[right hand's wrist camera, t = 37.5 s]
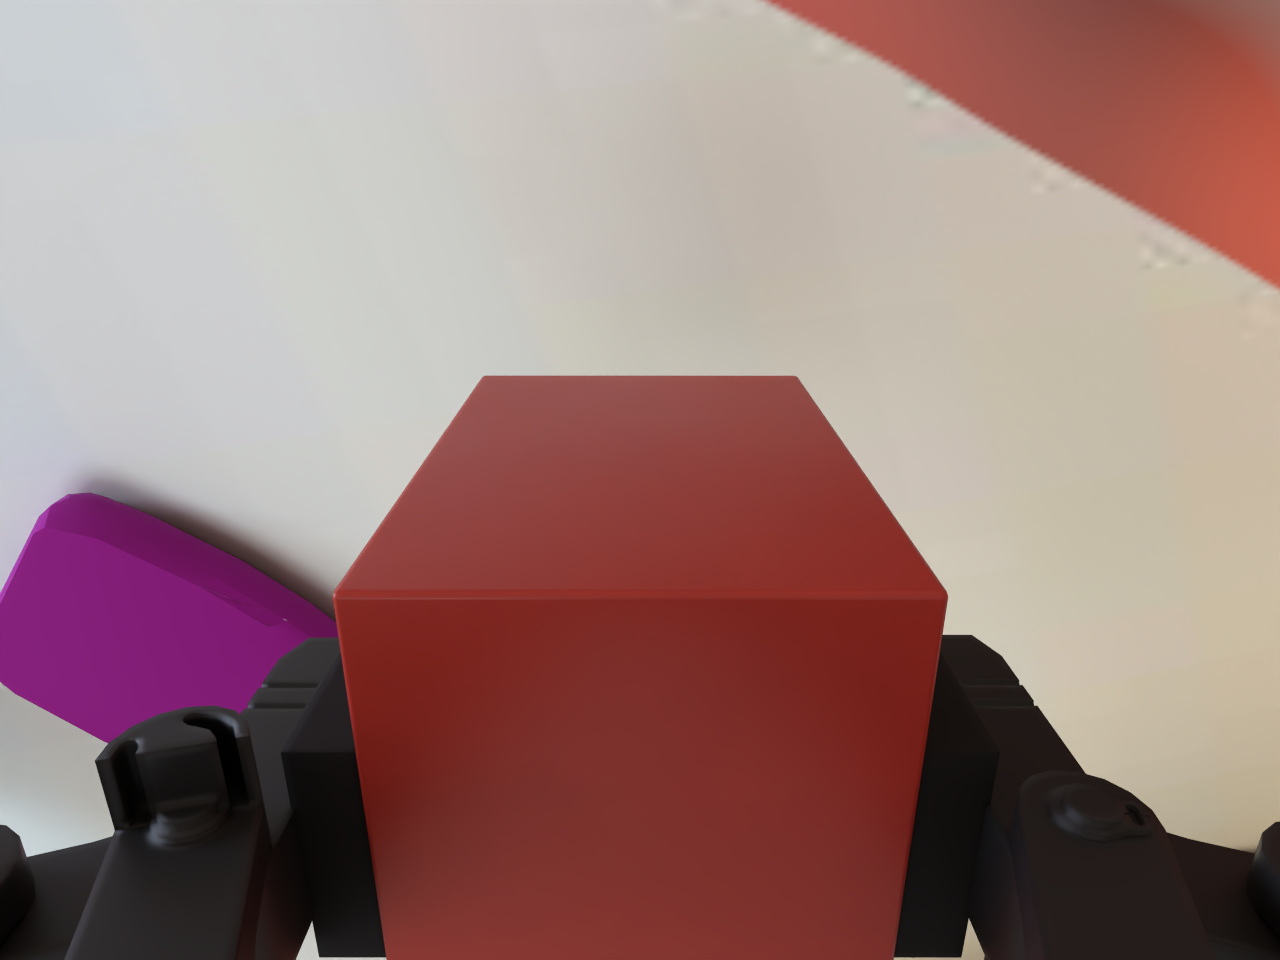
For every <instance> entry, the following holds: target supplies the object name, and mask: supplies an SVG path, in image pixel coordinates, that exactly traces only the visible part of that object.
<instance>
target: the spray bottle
mask: <svg viewBox="0 0 1280 960" xmlns="http://www.w3.org/2000/svg"><path fill="white" fill-rule="evenodd" d="M308 638H339V637H338V630H337V623H336V622H335V621H334V620H332V619H331V618H330V617H328V616H327V615H326V614H325V613H323V612H322V611H321V610H319V609H318V608H317V607H315V606H314V605H313V604H311V603H310V602H308V601H307V600H305V599H304V598H302V597H300V596H299V595H297V594H296V593H294V592H292V591H291V590H289V589H287V588H286V587H284V586H283V585H281V584H279V583H278V582H276V581H275V580H273V579H271V578H270V577H268V576H267V575H265V574H263V573H262V572H260V571H259V570H257V569H255V568H254V567H252V566H251V565H249V564H247V563H246V562H244V561H242V560H240V559H238V558H236V557H234V556H232V555H230V554H228V553H226V552H224V551H222V550H220V549H218V548H216V547H214V546H212V545H210V544H208V543H206V542H204V541H202V540H200V539H198V538H196V537H194V536H192V535H190V534H188V533H186V532H183V531H181V530H179V529H177V528H175V527H173V526H171V525H169V524H167V523H165V522H163V521H161V520H159V519H157V518H155V517H153V516H151V515H149V514H146V513H144V512H141V511H139V510H137V509H134V508H132V507H129V506H127V505H124V504H122V503H119V502H117V501H114V500H112V499H109V498H107V497H104V496H100V495H96V494H92V493H80V494H68V495H66V496H65V497H63V498H62V499H60V500H59V501H57V502H55V503H54V504H52V505H51V506H50V507H49V508H48V509H47V510H46V511H44V512H43V513H42V514H41V515H40V516H39V518H38V520H37V522H36V524H35V526H34V528H33V530H32V532H31V534H30V536H29V538H28V540H27V542H26V544H25V546H24V548H23V550H22V552H21V554H20V556H19V558H18V559H17V561H16V563H15V565H14V567H13V569H12V571H11V573H10V575H9V577H8V579H7V581H6V583H5V585H4V587H3V589H2V591H1V593H0V682H1V683H2V684H4V685H5V686H6V687H7V688H9V689H10V690H11V691H12V692H14V693H15V694H17V695H18V696H20V697H22V698H24V699H26V700H28V701H30V702H32V703H33V704H35V705H37V706H39V707H41V708H43V709H45V710H46V711H48V712H50V713H52V714H54V715H56V716H58V717H59V718H61V719H63V720H65V721H67V722H69V723H71V724H73V725H74V726H76V727H78V728H80V729H82V730H84V731H86V732H87V733H89V734H91V735H93V736H95V737H97V738H99V739H100V740H102V741H105V742H107V743H109V742H111V741H112V740H113V739H115V738H116V737H118V736H119V735H120V734H122V733H123V732H125V731H126V730H127V729H129V728H130V727H132V726H134V725H136V724H138V723H140V722H143V721H145V720H147V719H149V718H151V717H154V716H156V715H158V714H161V713H165V712H169V711H173V710H177V709H181V708H185V707H193V706H219V707H223V708H227V709H232V710H235V711H236V712H238V713H239V714H240V713H241V712H242V711H243V709H247V707H248V702H249V701H250V699H251V698H252V696H253V695H254V694H255V692H256V691H257V689H258V688H262V682H263V681H264V680H265V678H266V677H267V675H268V674H269V672H270V671H271V670H272V668H273V667H274V665H275V664H276V663H277V661H278V660H279V659H280V658H281V657H282V656H284V655H285V654H287V653H288V652H289V651H291V650H292V649H294V648H295V647H297V646H298V645H299V644H301V643H302V642H304V641H305V640H307V639H308Z"/></svg>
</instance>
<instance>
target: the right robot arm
mask: <svg viewBox="0 0 1280 960" xmlns="http://www.w3.org/2000/svg"><path fill="white" fill-rule="evenodd" d="M1033 702H1034V701H1033V699H1032V698H1031V696H1030V695H1029V694H1028V692H1027V691H1026V689H1025V688H1024V687H1023V685H1019V680H1018V678H1017V677H1016V675H1015V674H1014V673H1013V671H1012V670H1011V668H1010V667H1009V666H1008V664H1007V663H1006V661H1005V660H1004V659H1003V657H1002V656H1001V655H1000V654H998V653H997V652H995V651H994V650H992V649H991V648H990V647H988V646H987V645H985V644H984V643H982V642H981V641H980V640H978V639H977V638H975V637H974V636H972V635H942V640H941V647H940V654H939V660H938V667H937V674H936V680H935V687H934V694H933V700H932V707H931V713H930V720H929V727H928V733H927V740H926V747H925V753H924V760H923V767H922V773H921V780H920V786H919V793H918V800H917V806H916V813H915V820H914V826H913V833H912V840H911V846H910V853H909V859H908V866H907V873H906V879H905V886H904V893H903V899H902V906H901V913H900V919H899V926H898V933H897V939H896V946H895V952H894V957H961V956H962V951H963V945H964V940H965V935H966V930H967V924H968V919H970V921H971V924H972V926H973V928H974V931H975V933H976V935H977V938H978V940H979V942H980V945H981V947H982V949H983V952H984V954H985V957H984V960H1280V822H1275V823H1274V824H1273V825H1271V826H1270V827H1269V828H1268V829H1266V830H1265V831H1264V832H1263V833H1262V836H1261V838H1260V841H1259V844H1258V847H1257V850H1256V853H1255V854H1253V853H1248V852H1244V851H1240V850H1235V849H1231V848H1226V847H1222V846H1218V845H1213V844H1209V843H1204V842H1200V841H1195V840H1191V839H1187V838H1184V837H1180V836H1177V835H1174V834H1170V833H1167V832H1166V831H1165V829H1164V827H1163V826H1162V824H1161V823H1160V821H1159V820H1158V818H1157V817H1156V815H1155V814H1154V812H1153V811H1152V810H1151V809H1150V808H1149V807H1148V806H1146V805H1145V804H1144V803H1143V802H1142V801H1140V800H1139V799H1138V798H1137V797H1135V796H1134V795H1133V794H1132V793H1130V792H1128V791H1126V790H1125V789H1123V788H1121V787H1119V786H1117V785H1115V784H1113V783H1111V782H1109V781H1107V780H1105V779H1102V778H1098V777H1094V776H1091V775H1087V774H1086V773H1085V772H1084V771H1083V769H1082V768H1081V766H1080V765H1079V764H1078V762H1077V761H1076V759H1075V758H1074V757H1073V755H1072V754H1071V752H1070V751H1069V750H1068V748H1067V747H1066V745H1065V744H1064V743H1063V741H1062V740H1061V738H1060V737H1059V736H1058V734H1057V733H1056V731H1055V730H1054V729H1053V727H1052V726H1051V724H1050V723H1049V722H1048V720H1047V719H1046V717H1045V716H1044V715H1043V713H1042V712H1041V710H1040V709H1039V708H1038V706H1034V703H1033ZM95 763H96V766H97V770H98V773H99V777H100V780H101V784H102V787H103V791H104V794H105V797H106V801H107V804H108V808H109V811H110V815H111V818H112V822H113V825H114V829H115V832H114V835H113V836H112V837H109V838H105V839H102V840H99V841H95V842H92V843H87V844H83V845H78V846H74V847H70V848H65V849H61V850H56V851H52V852H48V853H43V854H39V855H34V856H30V857H26V854H25V851H24V848H23V845H22V842H21V839H20V836H19V835H17V834H16V833H15V832H14V831H12V830H11V829H10V828H9V827H7V826H6V825H0V960H296V957H297V955H298V953H299V950H300V948H301V946H302V943H303V941H304V939H305V936H306V934H307V932H308V929H309V927H310V924H311V922H312V921H313V927H314V932H315V937H316V942H317V948H318V953H319V957H386V952H385V945H384V938H383V932H382V925H381V918H380V912H379V905H378V898H377V892H376V885H375V878H374V871H373V865H372V858H371V851H370V845H369V838H368V831H367V825H366V818H365V811H364V804H363V798H362V791H361V784H360V778H359V771H358V764H357V757H356V751H355V744H354V737H353V731H352V724H351V717H350V711H349V704H348V697H347V690H346V684H345V677H344V670H343V664H342V657H341V650H340V644H339V638H308V639H307V640H305V641H304V642H302V643H301V644H299V645H298V646H297V647H295V648H294V649H292V650H291V651H289V652H288V653H287V654H285V655H284V656H282V657H281V658H280V659H279V660H278V661H277V663H276V664H275V665H274V667H273V668H272V670H271V671H270V672H269V674H268V675H267V677H266V678H265V680H264V681H263V682H262V688H258V689H257V691H256V692H255V694H254V695H253V696H252V698H251V699H250V701H249V702H248V707H247V709H243V711H242V712H241V713H240V714H239V713H238V712H236V711H235V710H232V709H227V708H223V707H219V706H193V707H185V708H181V709H177V710H173V711H169V712H165V713H161V714H158V715H156V716H154V717H151V718H149V719H147V720H145V721H143V722H140V723H138V724H136V725H134V726H132V727H130V728H129V729H127V730H126V731H125V732H123V733H122V734H120V735H119V736H118V737H116V738H115V739H113V740H112V741H111V742H109V743H108V745H107V746H106V747H105V748H104V750H103V751H102V752H101V754H100V755H99V756H98V758H97V759H96V760H95Z"/></svg>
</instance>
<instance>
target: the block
mask: <svg viewBox="0 0 1280 960" xmlns="http://www.w3.org/2000/svg"><path fill="white" fill-rule="evenodd" d="M332 597H333V603H334V610H335V617H336V623H337V630H338V637H339V644H340V650H341V657H342V664H343V670H344V677H345V684H346V690H347V697H348V704H349V711H350V717H351V724H352V731H353V737H354V744H355V751H356V757H357V764H358V771H359V778H360V784H361V791H362V798H363V804H364V811H365V818H366V825H367V831H368V838H369V845H370V851H371V858H372V865H373V871H374V878H375V885H376V892H377V898H378V905H379V912H380V918H381V925H382V932H383V938H384V945H385V952H386V959H387V960H893V959H894V952H895V946H896V939H897V933H898V926H899V919H900V913H901V906H902V899H903V893H904V886H905V879H906V873H907V866H908V859H909V853H910V846H911V840H912V833H913V826H914V820H915V813H916V806H917V800H918V793H919V786H920V780H921V773H922V767H923V760H924V753H925V747H926V740H927V733H928V727H929V720H930V713H931V707H932V700H933V694H934V687H935V680H936V674H937V667H938V660H939V654H940V647H941V640H942V634H943V627H944V621H945V614H946V607H947V601H948V595H947V592H946V590H945V589H944V587H943V586H942V584H941V583H940V581H939V580H938V579H937V577H936V576H935V574H934V573H933V571H932V570H931V568H930V567H929V566H928V564H927V563H926V561H925V560H924V558H923V557H922V556H921V554H920V553H919V551H918V550H917V548H916V547H915V545H914V544H913V543H912V541H911V540H910V538H909V537H908V535H907V534H906V533H905V531H904V530H903V528H902V527H901V525H900V524H899V522H898V521H897V520H896V518H895V517H894V515H893V514H892V512H891V511H890V510H889V508H888V507H887V505H886V504H885V502H884V501H883V500H882V498H881V497H880V495H879V494H878V492H877V491H876V489H875V488H874V487H873V485H872V484H871V482H870V481H869V479H868V478H867V477H866V475H865V474H864V472H863V471H862V469H861V468H860V466H859V465H858V464H857V462H856V461H855V459H854V458H853V456H852V455H851V454H850V452H849V451H848V449H847V448H846V446H845V445H844V443H843V442H842V441H841V439H840V438H839V436H838V435H837V433H836V432H835V431H834V429H833V428H832V426H831V425H830V423H829V422H828V420H827V419H826V418H825V416H824V415H823V413H822V412H821V410H820V409H819V408H818V406H817V405H816V403H815V402H814V400H813V399H812V397H811V396H810V395H809V393H808V392H807V390H806V389H805V387H804V386H803V385H802V383H801V382H800V380H799V379H798V377H796V376H484V377H482V378H481V380H480V381H479V383H478V384H477V386H476V387H475V389H474V390H473V391H472V393H471V394H470V396H469V397H468V399H467V400H466V402H465V403H464V404H463V406H462V407H461V409H460V410H459V412H458V413H457V415H456V416H455V417H454V419H453V420H452V422H451V423H450V425H449V426H448V428H447V429H446V430H445V432H444V433H443V435H442V436H441V438H440V439H439V441H438V442H437V443H436V445H435V446H434V448H433V449H432V451H431V452H430V454H429V455H428V456H427V458H426V459H425V461H424V462H423V464H422V465H421V467H420V468H419V469H418V471H417V472H416V474H415V475H414V477H413V478H412V480H411V481H410V482H409V484H408V485H407V487H406V488H405V490H404V491H403V493H402V494H401V495H400V497H399V498H398V500H397V501H396V503H395V504H394V506H393V507H392V508H391V510H390V511H389V513H388V514H387V516H386V517H385V519H384V520H383V521H382V523H381V524H380V526H379V527H378V529H377V530H376V532H375V533H374V534H373V536H372V537H371V539H370V540H369V542H368V543H367V545H366V546H365V547H364V549H363V550H362V552H361V553H360V555H359V556H358V558H357V559H356V560H355V562H354V563H353V565H352V566H351V568H350V569H349V571H348V572H347V573H346V575H345V576H344V578H343V579H342V581H341V582H340V584H339V585H338V586H337V588H336V589H335V591H334V593H333V596H332Z"/></svg>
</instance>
